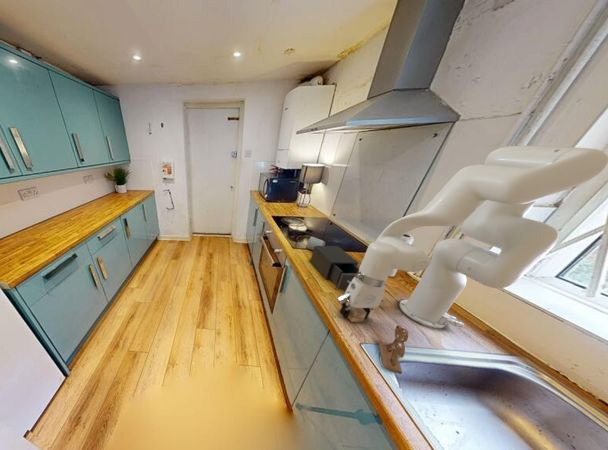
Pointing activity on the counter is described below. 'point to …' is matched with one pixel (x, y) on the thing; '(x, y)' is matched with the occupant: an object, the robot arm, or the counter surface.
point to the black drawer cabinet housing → (329, 258)
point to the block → (356, 314)
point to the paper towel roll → (407, 239)
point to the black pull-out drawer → (343, 274)
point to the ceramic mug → (314, 243)
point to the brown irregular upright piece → (394, 350)
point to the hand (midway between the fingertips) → (353, 315)
